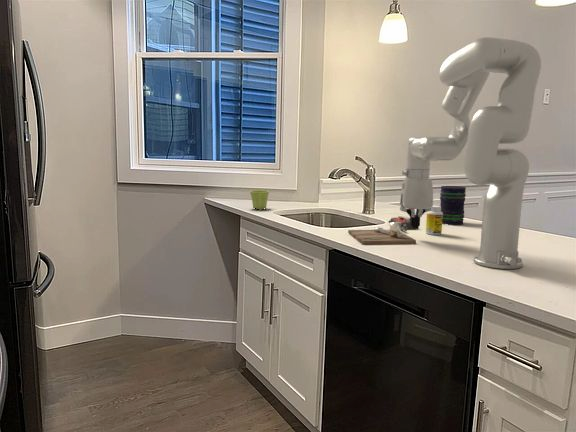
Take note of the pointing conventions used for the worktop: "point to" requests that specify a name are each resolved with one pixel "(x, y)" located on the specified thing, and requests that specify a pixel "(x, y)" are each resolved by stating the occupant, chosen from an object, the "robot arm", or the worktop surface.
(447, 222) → the storage jar
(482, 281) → the worktop surface
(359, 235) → the dial board
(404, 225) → the walkie-talkie
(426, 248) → the worktop surface
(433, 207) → the supplement bottle
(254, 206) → the plant pot
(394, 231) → the lever
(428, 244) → the worktop surface
